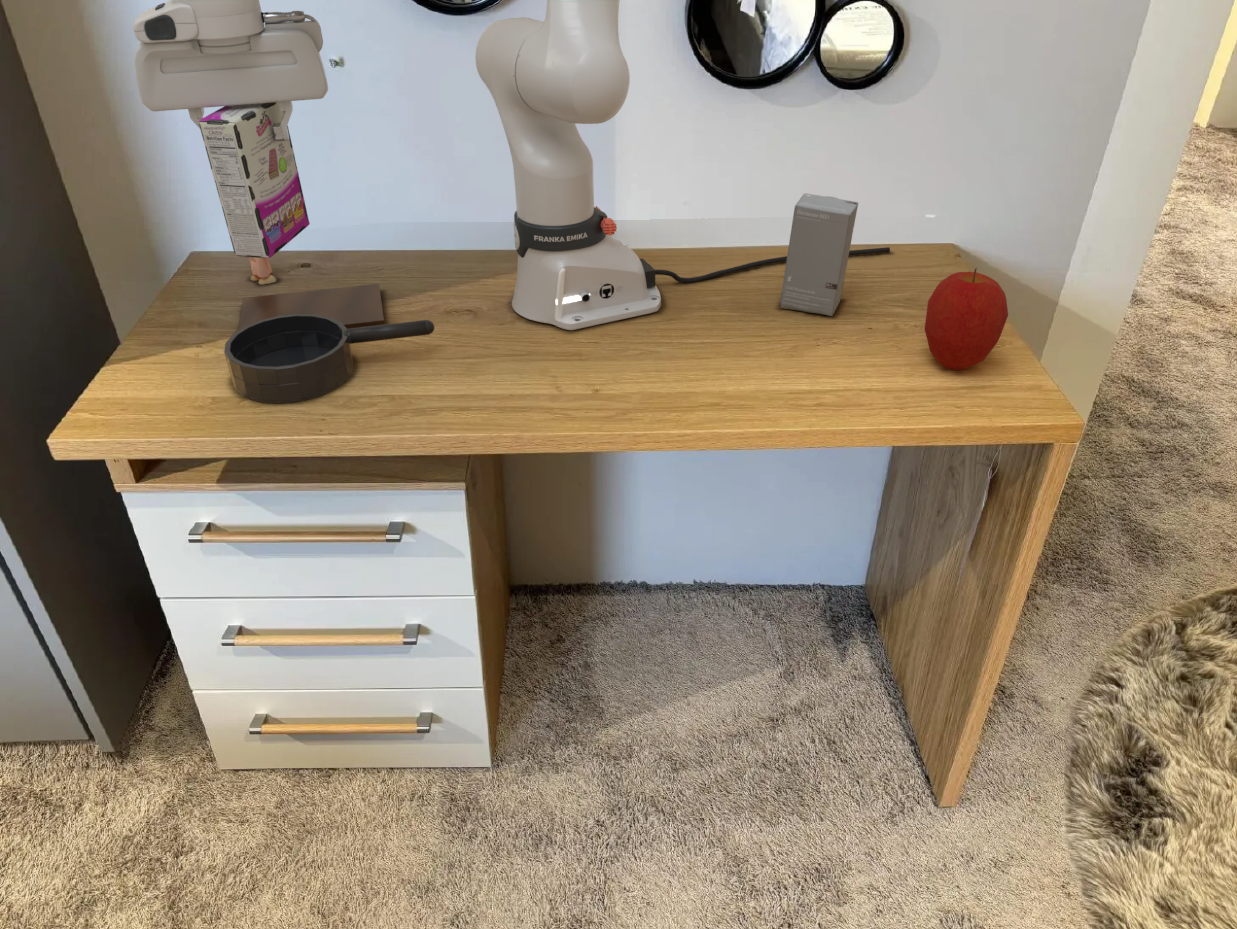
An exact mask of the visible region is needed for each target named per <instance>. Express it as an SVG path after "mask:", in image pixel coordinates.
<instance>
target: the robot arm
mask: <svg viewBox="0 0 1237 929" xmlns="http://www.w3.org/2000/svg"><path fill="white" fill-rule="evenodd" d="M619 10H620V0H546V11H545V18H544V21H543V20H539V19H535V18H531V17H525V16H520V17H519V16H518V17H510V18H509V17H508V18H505V19H503V18H502V19H499V20H496V21H494V22H492V23H491V24H489V25H488V26H486V28H485V29H484V30H483V32H482V33H481V34H480V37H479V38H478V41H477V44H476V47H475V66H476V71H477V73H478V75H479V78H480V79H481V81H482V83H483V84H484V85H485V87H486V88H487V89H488V91H489V93H490V95H491V97H492V99H493V101H494V104H495V106H496V109H497V112H498V115H499V118H500V121H501V125H502V128H503V131H504V133H505V137H506V140H507V144H508V148H509V151H510V152H509V153H510V156H511V162H512V169H513V182H514V193H515V194H514V195H515V205H516V206H515V207H516V210H515V211H514V214H513V221H514V222H513V236H514V237H513V238H514V248H515V250H516V253H517V269H516V278H515V286H514V290H513V294H512V295H513V296H512V300H511V308H512V309H513V311H514V312H515V313H516V314H518V315H519V316H521V317H523V318H525V319H527V320H531V321H534V322H538V323H544V324H549V325H554V326H555V327H558V328H560V329H562V330H567V331H575V330H580V329H584V328H588V327H593V326H599V325H601V324H607V323H611V322H617V321H620V320H626V319H630V318H634V317H640V316H644V315H648V314H652V313H653V314H654V313H656V312H658V311H659V310H660V308H661V306H662V297H661V296H662V295H661V292H660V290H659V288H658V287H657V285H656V275H657V276H658V275H659V276H668V277H671V278H673V279H674V280H675V281H676V282H678V283H681V284H682V283H683V284H692V283H698V282H704V281H706V280H710V279H713V278H717V277H719V276H725V275H730V274H733V273H737V272H741V271H744V270H747V269H752V268H757V267H761V266H765V265H766V266H767V265H772V264H777V263H783V262H786V261H787V255H786V256H779V257H778V256H777V257H773V258H767V259H762V260H757V261H752V262H748V263H745V264H741V265H738V266H734V267H729V268H724V269H721V270H717V271H713V272H710V273H707V274H704V275H700V276H695V277H681V276H679V275H678V274H677V273H676V272H674V271H671V270H666V269H655V268H654V267H653V266H652V265H651V264H650V263H649V262H647V260H646V259H644V258H639V256H638V254H637V253H636V252H635V251H634V250H633V249H632V248H631V247H630V246H627V245H626V244H625V243H623V242H622V241H621V240H619V239H618V238H616V237H615V236H613V235H614V234H615V232H617V229H618V226H617V224H616V222H615V221H614V220H613V218H611V217H608V215H607V213H606V212H604V211H602V210H601V209H600V208H599V207H598V206H597V205H595V197H594V196H595V194H594V193H595V191H594V190H595V189H594V188H595V187H594V185H595V184H594V160H593V156H592V154H591V150H590V149H589V148H588V146H587V145H586V143H585V141H584V140H583V138H582V137H581V134H580V132H579V130H578V128H577V124H578V125H580V124H581V125H598V124H603V123H606V122H608V121H610V120H611V119H613V118H614V117H615V116H616V115H617V114H618V113H619V112H620V110H621V109H622V108H623V106H624V104H625V102H626V99H627V97H628V93H629V89H630V83H631V82H630V81H631V80H630V69H629V65H628V63H627V60H626V58H625V56H624V54H623V52H622V47H621V44H620V37H619V36H620V35H619ZM306 19H307V20H306ZM132 27H133V28H132V29H133V32H134V35H135V38H136V39H137V41H138V42H140V43H139V44H138V46H137V48H136V50H135V52H134V60H133V61H134V70H135V78H136V84H137V89H138V92H139V97H140V100H141V102H142V104H143V105H144V106H145V107H146V108H147V109H149V111H151V112H163V111H164V112H166V111H177V110H179V111H180V110H188V114H189V118H190V120H191V121H192V122H193V124H195V125H196V126H197V128H199V129H200V126H199V123H198V121H199V120H200V119H202V118H204V114H205V108H216V107H218V108H219V107H220V108H221V107H224V106H233V105H246V104H259V103H272V102H278V104H279V108H280V111H284V113H283V116H282V119H281V122H280V123H274V124H273V125H274V126H273V129H274V133H275V138H276V142H277V141H289V134H290V132H289V133H288V129H289V128H288V129H287V124H288V125H289V122H290V119H291V116H292V113H293V102H298V101H310V100H322V99H324V98H325V96H326V94H327V93H328V91H329V86H328V78H327V74H326V71H325V70H326V69H325V67H324V66H325V65H324V63H323V60H322V57H321V53H320V52H321V51H322V49H323V45H324V39H323V34H322V33H323V32H322V28H321V25H320V23H319V21H318V20H317V19H316V18H315V17H314V16H312V15H310V14H306V13H305V12H304V11H303V10H292V11H286V12H284V11H283V12H282V11H267V12H263V11H262V8H261V3H260V0H168V1H166V2H163V3H160V4H158V5H156V6H154V7H151V8H148V9H146V10H144V11H143V12H142V11H141V13H139V14H138V15H137V17H136V18H135V19H134V21H133V23H132ZM890 252H891V247H889V246H887V247H886V246H885V247H876V248H864V249H863V248H862V249H854V250H853V249H852V250H851V249H850V251H849V256H856V255H857V256H858V255H870V254H871V255H872V254H881V253H882V254H883V253H890Z"/></svg>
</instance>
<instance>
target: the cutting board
mask: <svg viewBox="0 0 1237 929" xmlns="http://www.w3.org/2000/svg"><path fill="white" fill-rule="evenodd" d="M240 309H241V311H240V317H239V325H238V331H239V330H240V329H242V328H243V327H245V326H248V325H250V324H253V323H255V322H258V321H260V320H263V319H268V318H272V317H276V316H281V315H290V314H316V315H321V316H327V317H331V318H333V319H335V320H337V321H339V322H341V323H342V324H343V325H344V326H345V327H346V328H347V329H350V328H359V327H367V326H376V325H385V316H384V309H383V302H382V295H381V287H380V283H372V284H362V285H351V286H343V287H333V288H323V289H315V290H313V289H312V290H305V291H294V292H285V293H275V294H267V295H266V294H265V295H257V296H247V297H243V298H242V302H241V308H240Z"/></svg>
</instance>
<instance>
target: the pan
mask: <svg viewBox="0 0 1237 929" xmlns="http://www.w3.org/2000/svg"><path fill="white" fill-rule="evenodd" d="M346 329H347V328H346V327H345V326H344V325H343V324H342V323H341V322H339V321H337V320H335V319H333V318H331V317H327V316H321V315H316V314H290V315H281V316H276V317H272V318H268V319H263V320H260V321H258V322H255V323H253V324H250V325H248V326H245V327H243V328H242V329H240V330H239V329H238V330H237V331H236V332H234V333H232V335H231V336H230V337H229V338H228V339H227V340H226V341H225V344H224V351H223V352H224V353H223V354H224V357H225V361H226V365H227V367H228V372H229V375H230V379H231V383H232V384H233V387H234V390H235V391H236V392H237V393H238V394H239V395H241V396H242V397H243V398H246V399H248V400H250V401H255V402H258V403H263V404H293V403H299V402H304V401H309V400H312V399H315V398H319V397H321V396H324V395H326V394H329V393H331V392H333V391H335V390H336V389H338V388H339V387H341V386H342V385H344V384H345V383H346V382H347V381H348V380H349V379H350V378H351V376H352V375H353V372H354V361H353V353H352V347H351V344H349V341H348V336H346V335H344V334H343V332H344V331H345V330H346Z"/></svg>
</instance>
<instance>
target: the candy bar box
mask: <svg viewBox="0 0 1237 929" xmlns="http://www.w3.org/2000/svg"><path fill="white" fill-rule="evenodd" d="M283 113H284V111H280V108H279V104H278V102H272V103H259V104H246V105H233V106H221V107H220V108H219V109H217V110H215V111H213V112H212V113H209V114H208V115H206V116H203V118H202V119H200V120H199V121H198V123H199V126H200V128H199V130H200V133H201V137H202V140H203V144H204V147H205V151H206V154H207V158H208V163H209V165H210V170H211V173H212V176H213V181H214V183H215V186H216V191H217V195H218V199H219V203H220V205H221V209H222V214H223V216H224V220H225V224H226V228H227V232H228V235H229V238H230V242H231V246H232V249H233V254H234V255H235V256H236V257H242V258H249V257H255V258H268V259H270V258H272V257H273V256H275V255H276V254H277V253H278V252H279V251H281V250H282V249H283V248H284V247H285V246H287V245H288V244H289V243H290V242H291V241H292V240H293V239H295V238H296V237H297V236H298V235H299V234H300V233H302V232H303V230H305V229H306V228H308V227H309V226H310V225H311V223H310V220H309V215H308V210H307V205H306V200H305V197H304V193H303V189H302V183H301V180H300V175H299V170H298V165H297V162H296V157H295V152H294V147H293V143H292V139H291V134H290V130H289V123H288V124H287V129H288V133H289V141H277V142H276V138H275V133H274V129H273V126H274V125H273V124H274V123H280V122H281V119H282V116H283Z"/></svg>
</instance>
